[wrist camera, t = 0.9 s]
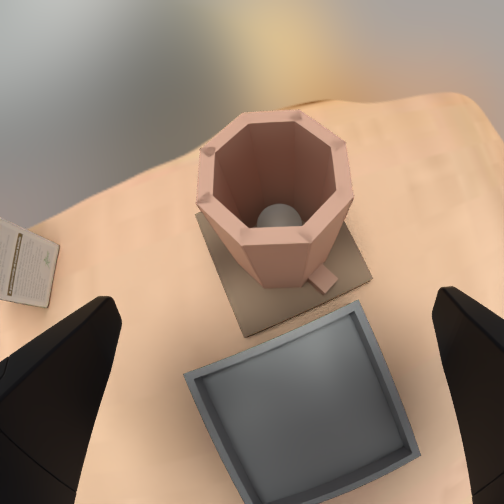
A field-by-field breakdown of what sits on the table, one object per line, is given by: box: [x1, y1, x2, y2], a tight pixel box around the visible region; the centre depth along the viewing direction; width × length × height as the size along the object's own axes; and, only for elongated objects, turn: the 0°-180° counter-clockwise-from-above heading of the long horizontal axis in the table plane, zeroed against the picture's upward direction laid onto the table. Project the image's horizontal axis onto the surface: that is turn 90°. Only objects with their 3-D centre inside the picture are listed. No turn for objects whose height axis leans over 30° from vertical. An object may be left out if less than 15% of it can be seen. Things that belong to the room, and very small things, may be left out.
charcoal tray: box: [183, 300, 421, 504], centre depth 18 cm, size 11×11×2 cm
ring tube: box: [196, 109, 354, 296], centre depth 16 cm, size 7×6×10 cm
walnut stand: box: [195, 204, 373, 337], centre depth 20 cm, size 9×9×5 cm
